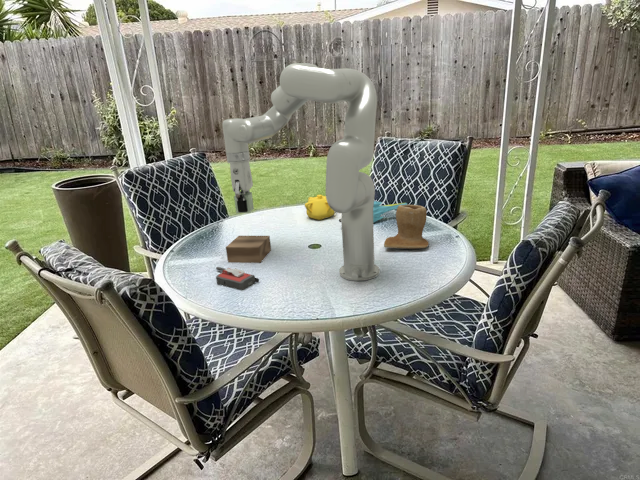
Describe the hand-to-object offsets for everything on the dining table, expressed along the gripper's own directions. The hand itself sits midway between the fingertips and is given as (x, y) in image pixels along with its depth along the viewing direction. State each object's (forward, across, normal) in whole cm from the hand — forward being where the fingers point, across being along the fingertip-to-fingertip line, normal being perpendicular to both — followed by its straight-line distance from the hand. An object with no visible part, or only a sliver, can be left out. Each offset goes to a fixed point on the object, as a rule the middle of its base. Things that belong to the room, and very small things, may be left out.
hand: (245, 209), depth 153 cm
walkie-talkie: (+18, -20, +2) cm, 27 cm away
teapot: (+18, +45, -22) cm, 53 cm away
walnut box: (+18, 0, 0) cm, 18 cm away
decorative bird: (+18, +28, -44) cm, 55 cm away
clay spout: (+18, +4, -56) cm, 59 cm away
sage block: (+1, 0, 0) cm, 1 cm away
